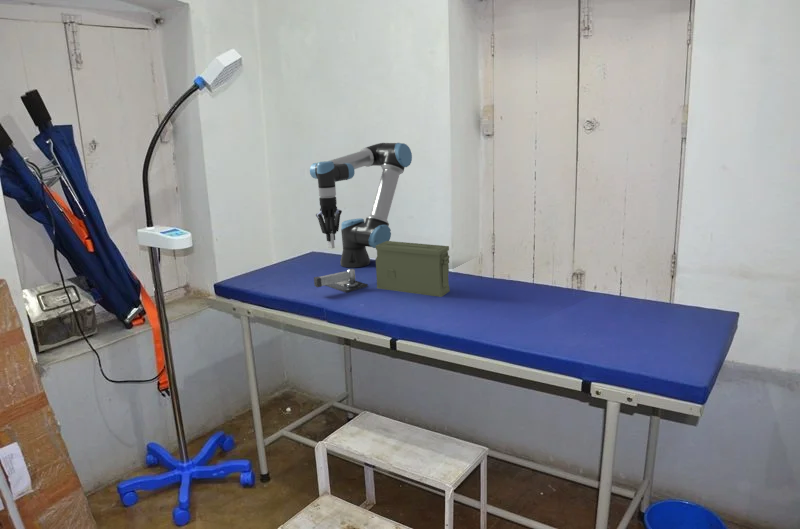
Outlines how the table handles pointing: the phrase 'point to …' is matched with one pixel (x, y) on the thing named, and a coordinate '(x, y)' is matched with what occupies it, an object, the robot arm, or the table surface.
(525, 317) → the table surface
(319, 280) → the grey long bar
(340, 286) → the plate
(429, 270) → the ammunition box
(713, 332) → the table surface
